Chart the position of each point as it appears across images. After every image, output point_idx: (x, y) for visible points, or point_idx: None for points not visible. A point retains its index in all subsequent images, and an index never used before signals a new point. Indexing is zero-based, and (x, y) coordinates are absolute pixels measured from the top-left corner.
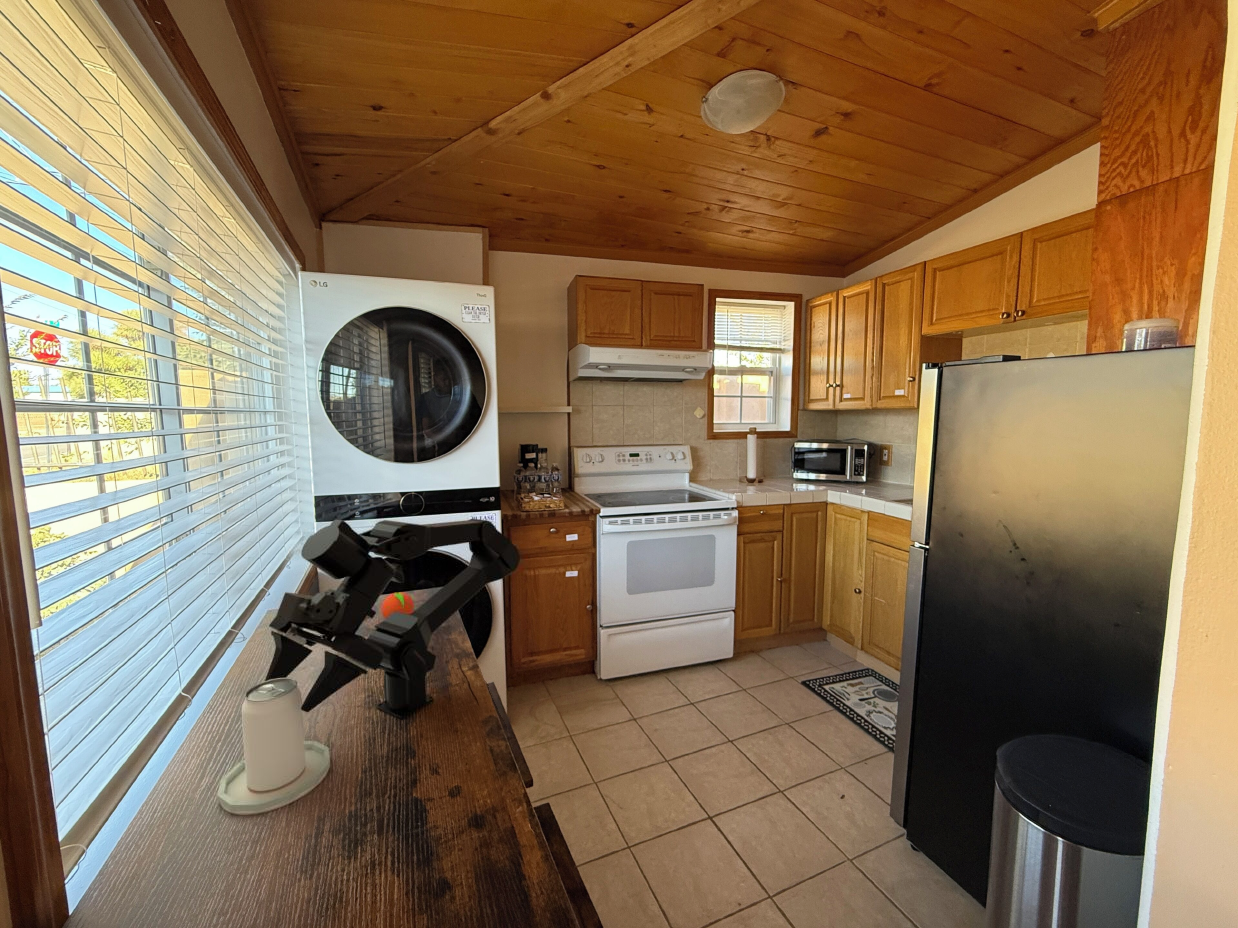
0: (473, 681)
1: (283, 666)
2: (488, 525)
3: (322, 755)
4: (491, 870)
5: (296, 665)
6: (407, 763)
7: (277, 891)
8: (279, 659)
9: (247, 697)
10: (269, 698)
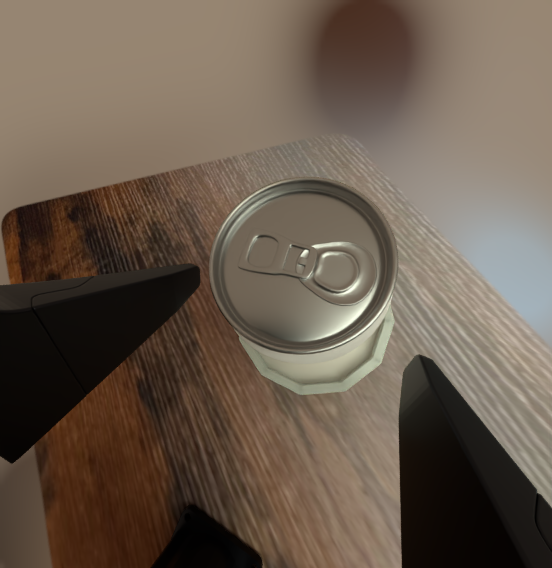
0: None
1: (439, 498)
2: None
3: (271, 366)
4: (41, 234)
5: (404, 563)
6: (143, 366)
7: (197, 184)
8: (491, 523)
9: (358, 210)
10: (266, 217)
